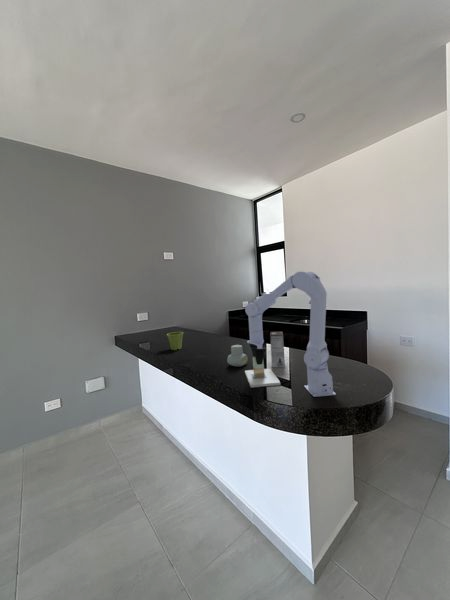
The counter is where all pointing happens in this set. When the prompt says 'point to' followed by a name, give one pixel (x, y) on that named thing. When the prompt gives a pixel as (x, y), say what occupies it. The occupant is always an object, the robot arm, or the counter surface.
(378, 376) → the counter surface
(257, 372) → the maple block
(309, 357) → the robot arm
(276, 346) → the coffee box
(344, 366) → the counter surface
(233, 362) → the air freshener
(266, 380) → the plate
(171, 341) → the plant pot
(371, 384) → the counter surface
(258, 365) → the sage block
